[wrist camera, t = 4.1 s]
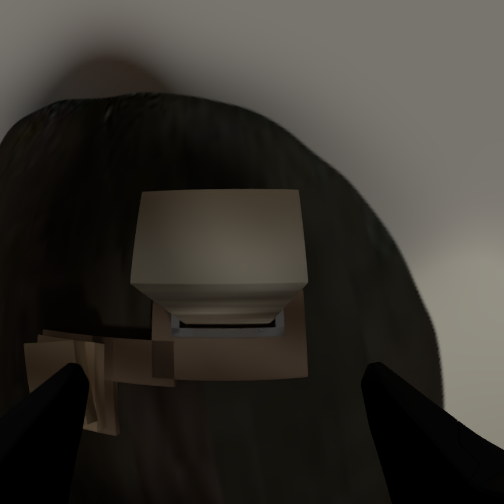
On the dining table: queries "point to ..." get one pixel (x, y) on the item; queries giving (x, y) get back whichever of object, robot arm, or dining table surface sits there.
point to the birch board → (220, 254)
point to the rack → (201, 353)
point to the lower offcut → (91, 378)
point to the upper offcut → (57, 366)
